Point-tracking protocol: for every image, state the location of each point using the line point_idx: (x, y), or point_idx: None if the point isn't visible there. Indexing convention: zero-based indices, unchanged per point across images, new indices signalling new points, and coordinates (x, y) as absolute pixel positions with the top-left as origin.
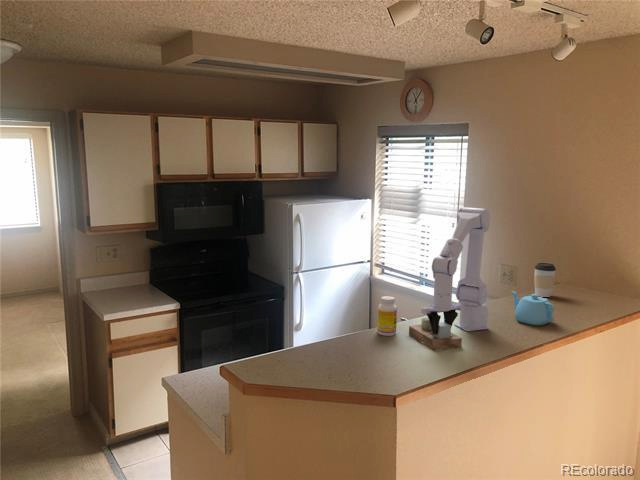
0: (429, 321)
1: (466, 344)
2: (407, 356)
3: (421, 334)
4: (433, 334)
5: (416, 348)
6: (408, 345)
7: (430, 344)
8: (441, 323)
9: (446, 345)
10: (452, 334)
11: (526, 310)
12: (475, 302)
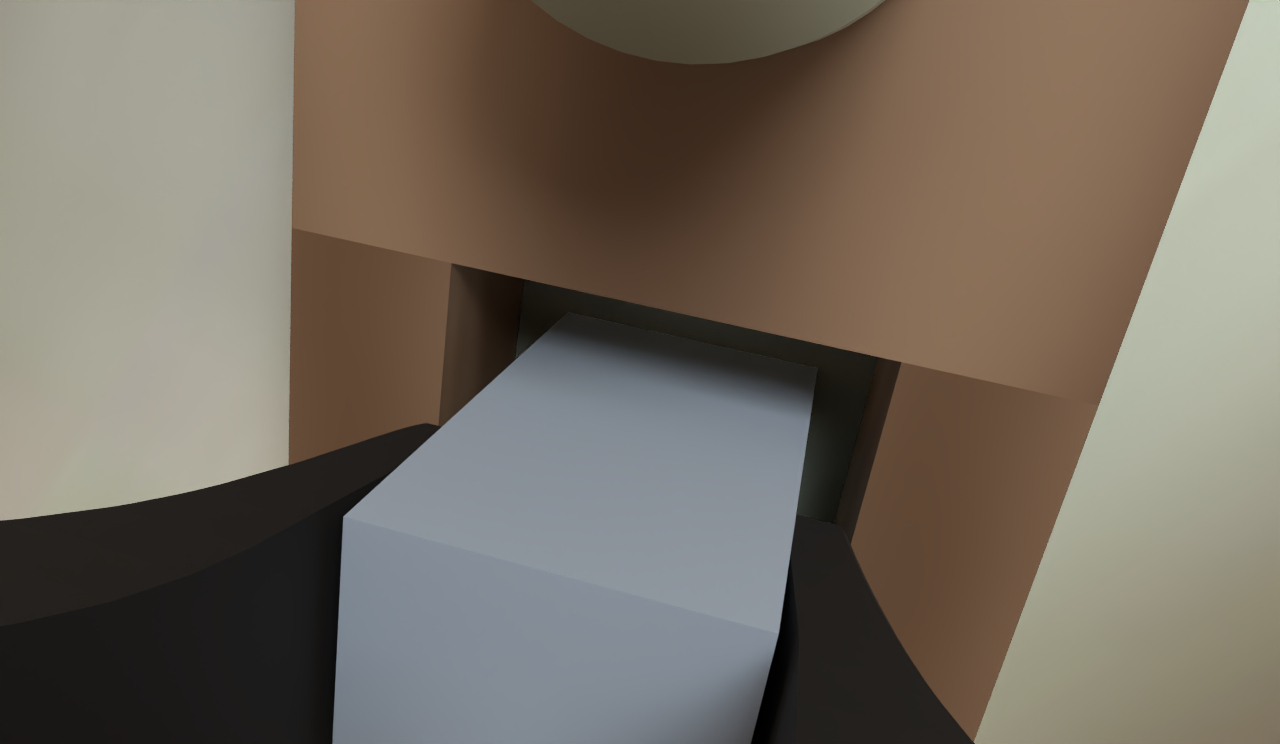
0: (575, 14)
1: (1131, 706)
2: None
3: (309, 141)
4: (495, 387)
5: (151, 340)
6: (87, 149)
7: None
8: (556, 695)
9: None
10: (944, 622)
11: None
12: None
